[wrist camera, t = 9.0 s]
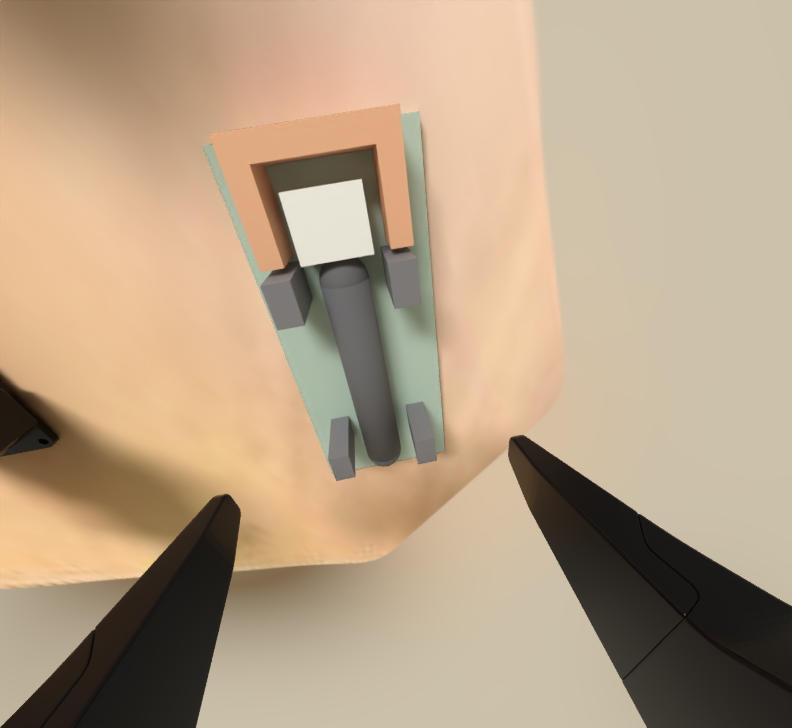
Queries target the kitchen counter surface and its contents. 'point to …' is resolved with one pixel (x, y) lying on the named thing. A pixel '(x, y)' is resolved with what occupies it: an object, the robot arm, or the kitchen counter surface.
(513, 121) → the kitchen counter surface
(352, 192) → the rod
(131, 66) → the kitchen counter surface
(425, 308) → the clip board
